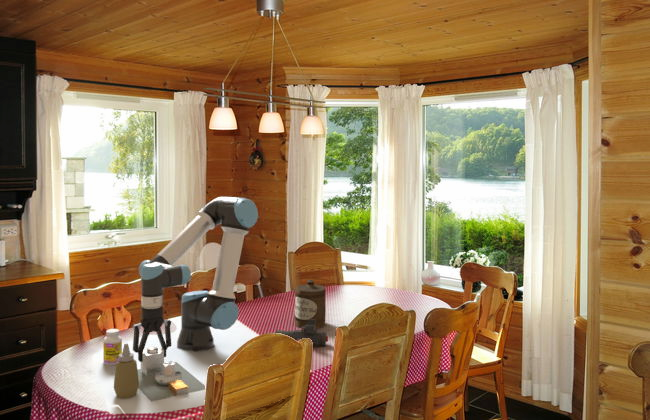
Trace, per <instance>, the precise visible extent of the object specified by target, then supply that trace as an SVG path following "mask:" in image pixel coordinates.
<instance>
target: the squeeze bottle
mask: <svg viewBox="0 0 650 420" xmlns="http://www.w3.org/2000/svg"><path fill="white" fill-rule="evenodd" d="M134 356H135V355H134V353H133V352H131V351H130V346H129V344H128V343H124V344H123V347H122V354H120V355H119V361H117V362H116V364H115V371H114V379H113V390H114V392H115V395H116V397H117V398H119V399H123V400H125V399H131V398H133V397H134V398H135V396H137V392H138V389H139V388H138V386H139V379H138V371H137V369H138V364H137V360H135V359H134Z"/></svg>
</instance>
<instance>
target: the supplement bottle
mask: <svg viewBox="0 0 650 420" xmlns="http://www.w3.org/2000/svg"><path fill="white" fill-rule="evenodd" d="M105 334H106V336H105V337H104V338H103V364H104V365H108V366H109V365H116V362H117V361H119V355H120V354H122V352H123V343H122V342H123V341H122V339H123V337H121V335H120V330H119V329H118V328H110V329H106V332H105Z"/></svg>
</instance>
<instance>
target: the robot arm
mask: <svg viewBox="0 0 650 420" xmlns="http://www.w3.org/2000/svg"><path fill="white" fill-rule="evenodd" d="M258 218H259V212H258V208H257V206H256V204H255V202H254V201H253V200H251V199H249V198H246V197H236V196H226V195H225V196H219V197H216V198H214V199H213V200H210V201H209V202H208V203H206V204H205V205H204V206H203V207H202V208H201V209H200V210H198V211H197V212H196V215H195V217H194V218H193V219H192V220H191V221H190V223H188V224H187V225H186V226H185V227H184V228H183V229H182V230H181V231H180V232H179V233H178V234H177V235H176V236H175V237H174V238H173V239H172V240H171V241H170V242H169V243H168V244H166V245H165V247H163V248H162V249H161V250H160V251H159V252H158V253H157V254H156V255H155V256H154V257H153V258H152V259H146V260H145V259H144V260H143V261H141V263H140V265H139V266H138V273H139V276H140V286H141V288H140V291H141V293H140V294H141V295H140V296H141V297H140V298H141V299H140V300H141V302H140V304H141V309H140V310H141V311H140V313H141V315H140V316H141V319H140V322H139V323H136V324H134V323H133V324H132V328H133V340H132V351H133V352H134V353H137V358H138V359H137V360H138V361H139V363H140V369H142V370H143V371H145V353H144V352H143V351H144V350H145V347H146V343H147V341H148V338H149V336H150V333H153V332H156V335H157V338H158V341H159V344H160V347H158V348H159V349H160V350H161V351H162V352H163V353H164V358H167V350H168V348H170V347H172V335H171V334H172V333H171V325H172V321H171V320H170V319H168V318H167V319H164V307H163V305H164V289H166V288H168V289H169V288H174V287H178V286H182V285H185V284H188V283H189V282H190V281H191V278H192V273H191V269H190V267H189V266H188V265H186V264H177V265H175V264H176V263H177V262H178V261H180V259H181V258H182V257H184V255H185V254H186V253H188V251H189V250H190V249H191V248H192V247H193V246H195V244H197V243H198V241H199V240H200V239H202V237H204V235H205V234H206V233H208V231H209V230H214V229H215V228H216V227H217V226H219V225H221V226H220V228H221V229H222V231H223V235H222V240H221V243H220V249H219V253H218V254H219V255H218V258H217V262H216V268H215V273H214V278H213V283H212V287H211V289H210V290H209V291H208V290H194V291H188V292H185V293H184V294H182V296H181V302H180V305H181V307H180V308H181V309H180V312H181V313H180V314H181V315H180V316H181V320H180V323H181V328H180V331H179V334H178V338H177V341H176V347H177V348H178V349H179V350H180V349H182V350H186V351H193V352H199V351H207V350H209V349H211V348H213V346H215V345H214V341H215V340H214V336H213V334H212V330H211V328H212V329H215V330H221V331H224V330H226V331H227V330H228V329H230V328H231V327H232V326H233V325H234V324H235V323H236V321H237V320H238V318H239V313H240V312H239V307H238V305H237V304H236V300H237V299H236V298H237V297H236V296H235V294H234V290H235V285H236V284H235V283H236V279H237V274H238V268H239V264H240V259H241V254H242V250H243V249H242V248H243V245H244V239H245V236H246V235H247V234H249V232H250V228H252V227H254V225H255V224H256V223H257V221H258ZM162 325H164V335H165V338H164V335H163V333H162V329H161V328H162ZM141 328H143V330H142V334H141V339H140V330H141Z"/></svg>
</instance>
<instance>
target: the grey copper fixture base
mask: <svg viewBox="0 0 650 420" xmlns="http://www.w3.org/2000/svg"><path fill="white" fill-rule="evenodd" d="M155 384H156V385H158V386H163V387H168V388H169V389H170V390H171V391H172V392H173V393H174V394H175V395H176V396H175V397H177V396H182V394H183V395H186V394H189V393H188V386H187V385H185V384H184V383H183V382H182V381H181V372H179V371H176V370H175V364H174V362H173V361H166V362H165V361H164V363H162V371H161V372H158V373H157V374H156V375H155Z"/></svg>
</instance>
